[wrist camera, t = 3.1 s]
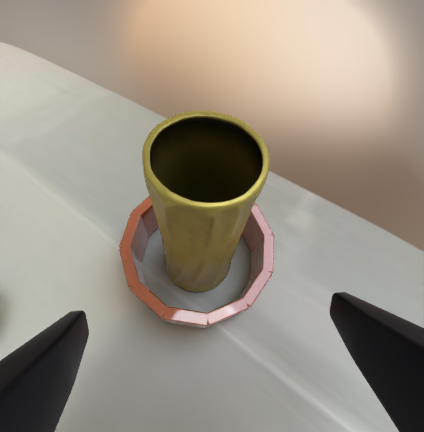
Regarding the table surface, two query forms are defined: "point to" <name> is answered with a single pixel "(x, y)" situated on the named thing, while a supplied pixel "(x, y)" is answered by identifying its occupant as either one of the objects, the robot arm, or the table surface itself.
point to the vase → (202, 191)
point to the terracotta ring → (259, 275)
